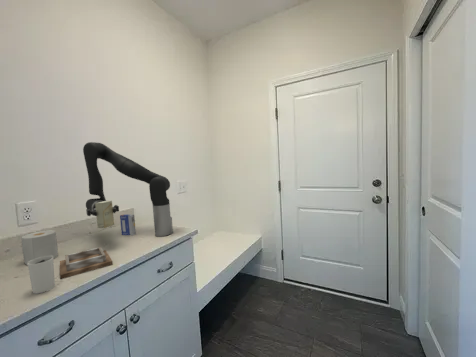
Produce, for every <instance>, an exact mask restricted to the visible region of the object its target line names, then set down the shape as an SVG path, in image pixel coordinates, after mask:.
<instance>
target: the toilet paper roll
mask: <svg viewBox="0 0 476 357" xmlns="http://www.w3.org/2000/svg"><path fill="white" fill-rule="evenodd" d="M58 247H59V246H58V238H57V233H56V230H55V229H54V230H53V229H52V230H41V231H36V232H32V233H27V234H24V235H22V236H21V251H22V257H23V261H24V262H23V263H24V264H25V265H27V266H28V264H27V263H28V262H29V261H31V260H33V259H36V258H39V257H44V256H53V260H54V259H56V258H57V257H58V256H59V252H58V251H59V248H58Z"/></svg>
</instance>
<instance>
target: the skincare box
mask: <svg viewBox="0 0 476 357" xmlns="http://www.w3.org/2000/svg"><path fill="white" fill-rule="evenodd" d="M95 207H96V212H97V216H95V217H96V226H97V229H106V228H110V227H112V226H115V218H114V213H113V207H114V206H113V201H112V200H106V201H102V202H98V203H95Z"/></svg>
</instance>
